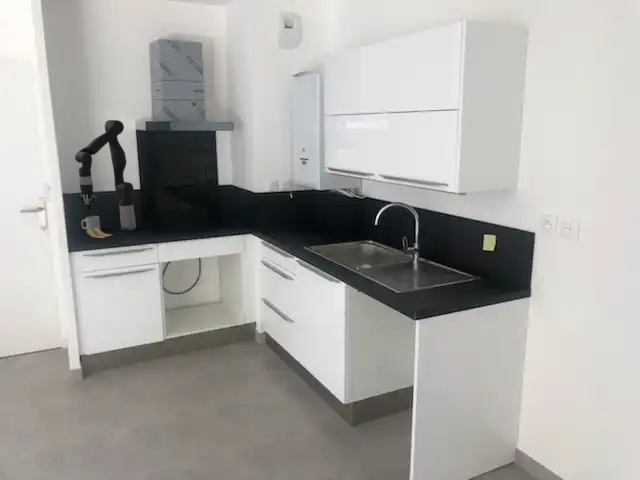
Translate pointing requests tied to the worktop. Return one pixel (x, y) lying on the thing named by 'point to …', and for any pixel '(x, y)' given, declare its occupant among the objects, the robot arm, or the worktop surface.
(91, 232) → the plank
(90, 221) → the mug
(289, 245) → the worktop surface
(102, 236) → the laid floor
